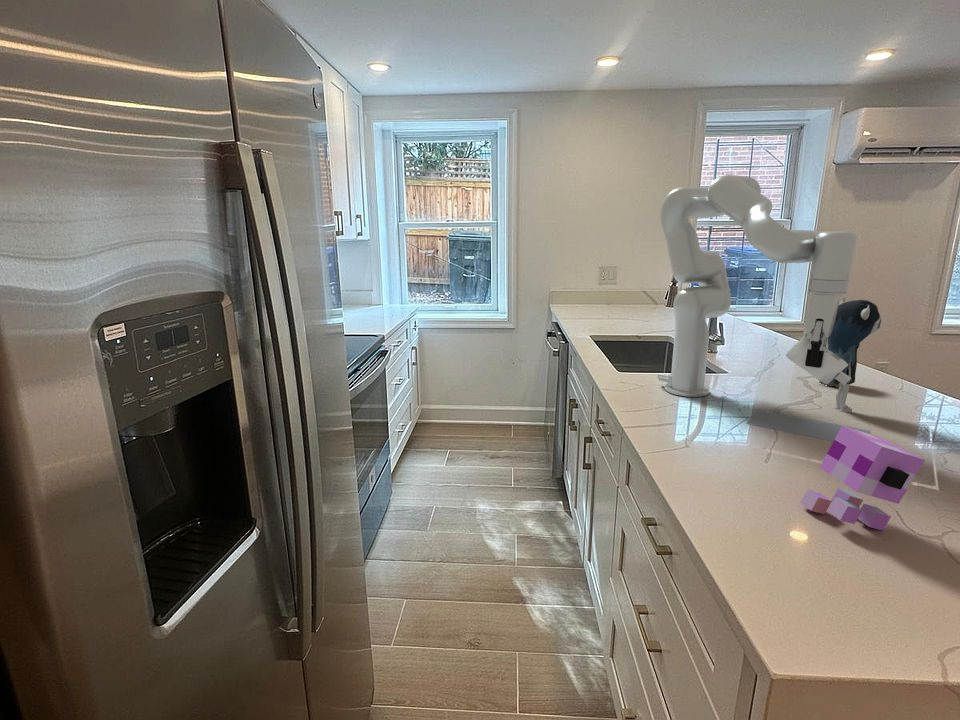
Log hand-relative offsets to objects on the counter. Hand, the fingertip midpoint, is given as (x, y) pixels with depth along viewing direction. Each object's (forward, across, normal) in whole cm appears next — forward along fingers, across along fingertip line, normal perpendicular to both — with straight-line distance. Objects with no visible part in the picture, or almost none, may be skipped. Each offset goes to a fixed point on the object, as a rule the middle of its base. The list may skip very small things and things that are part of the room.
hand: (814, 363), depth 119 cm
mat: (+16, 0, +1) cm, 16 cm away
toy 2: (+16, +42, +13) cm, 47 cm away
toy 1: (+17, -20, +6) cm, 26 cm away
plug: (+2, 0, 0) cm, 2 cm away
